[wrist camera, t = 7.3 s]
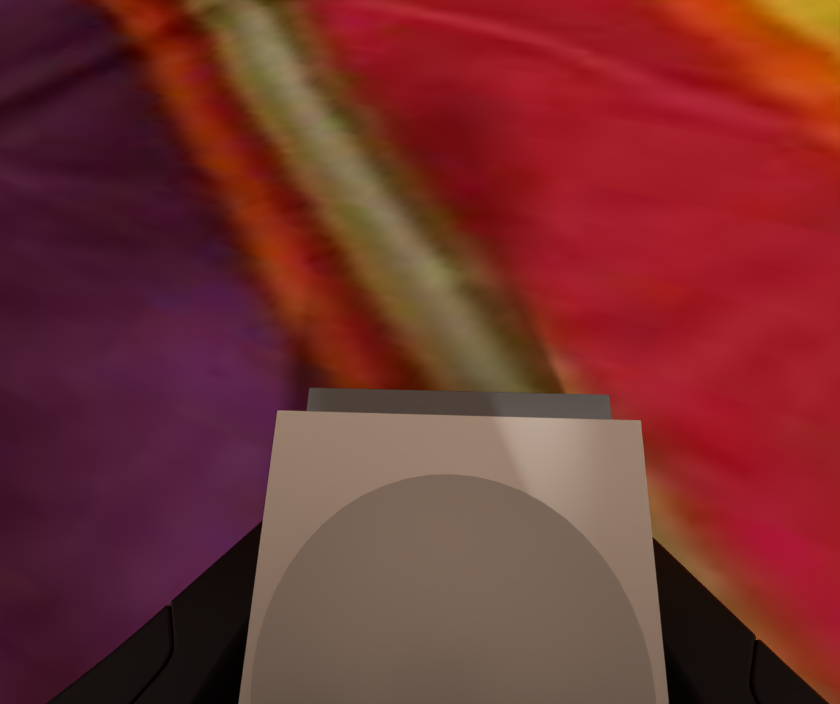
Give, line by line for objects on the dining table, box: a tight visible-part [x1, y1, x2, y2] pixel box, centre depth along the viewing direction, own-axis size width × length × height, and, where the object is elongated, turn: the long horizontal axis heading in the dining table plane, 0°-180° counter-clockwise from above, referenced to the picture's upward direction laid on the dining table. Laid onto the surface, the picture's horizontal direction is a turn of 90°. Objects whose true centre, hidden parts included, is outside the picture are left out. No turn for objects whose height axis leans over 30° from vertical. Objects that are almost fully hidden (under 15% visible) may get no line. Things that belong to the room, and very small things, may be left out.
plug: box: [238, 411, 669, 704], centre depth 9 cm, size 4×4×12 cm
